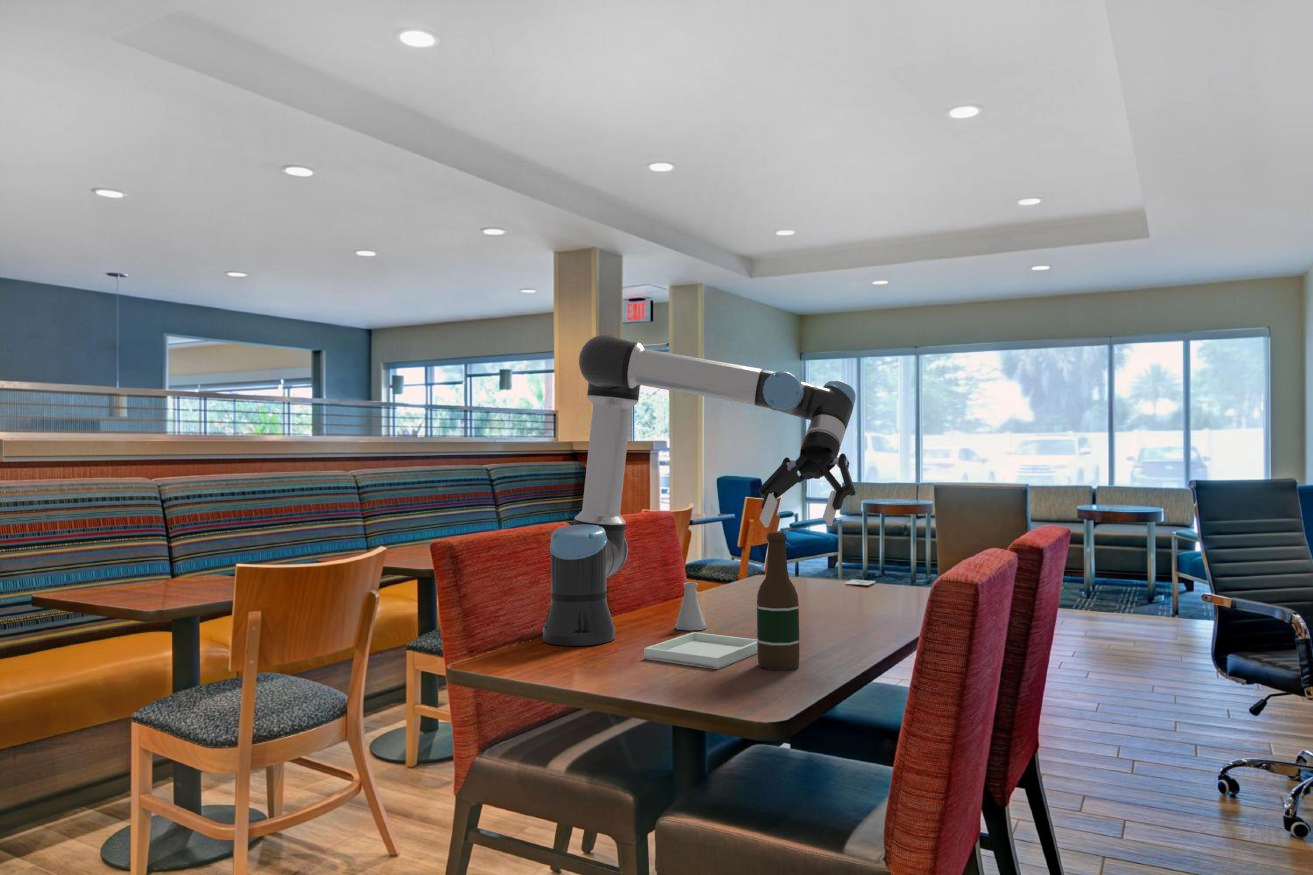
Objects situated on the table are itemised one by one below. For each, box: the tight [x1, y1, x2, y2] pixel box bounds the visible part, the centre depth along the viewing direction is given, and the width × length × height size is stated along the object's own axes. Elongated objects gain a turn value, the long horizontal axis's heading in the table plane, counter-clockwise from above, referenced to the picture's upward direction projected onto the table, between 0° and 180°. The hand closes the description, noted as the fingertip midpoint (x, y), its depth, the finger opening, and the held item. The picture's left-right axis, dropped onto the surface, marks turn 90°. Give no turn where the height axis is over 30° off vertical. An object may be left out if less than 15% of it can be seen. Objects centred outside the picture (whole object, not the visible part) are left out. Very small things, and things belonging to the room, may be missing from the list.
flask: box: [674, 582, 708, 632], centre depth 198 cm, size 7×7×10 cm
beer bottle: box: [756, 532, 800, 671], centre depth 162 cm, size 8×8×24 cm
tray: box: [643, 631, 758, 670], centre depth 172 cm, size 16×18×2 cm
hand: (794, 522), depth 172 cm, fingers open, 13 cm apart
